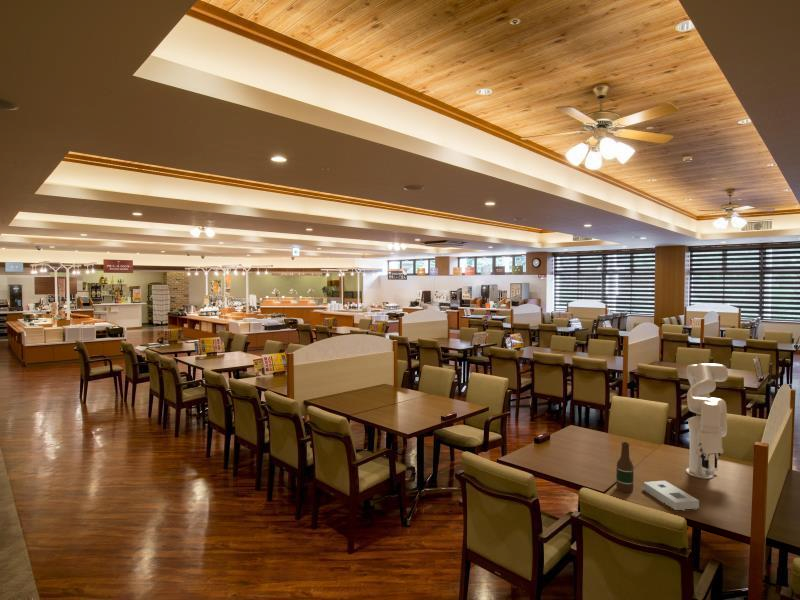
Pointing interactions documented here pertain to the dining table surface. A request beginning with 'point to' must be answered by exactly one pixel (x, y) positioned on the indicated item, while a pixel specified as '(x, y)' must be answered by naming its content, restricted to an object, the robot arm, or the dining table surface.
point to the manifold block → (670, 495)
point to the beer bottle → (624, 470)
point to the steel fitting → (710, 465)
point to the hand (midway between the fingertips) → (709, 466)
